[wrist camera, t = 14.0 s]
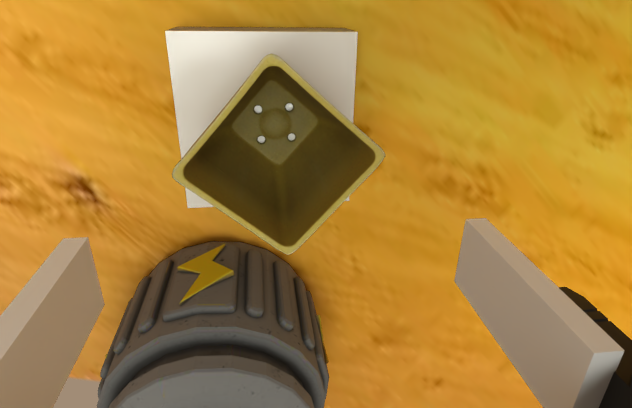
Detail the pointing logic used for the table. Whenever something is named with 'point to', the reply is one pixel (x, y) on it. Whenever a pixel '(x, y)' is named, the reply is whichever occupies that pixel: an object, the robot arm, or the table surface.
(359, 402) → the table surface
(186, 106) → the plinth
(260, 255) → the decorative lamp
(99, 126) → the table surface
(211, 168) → the flower pot
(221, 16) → the table surface
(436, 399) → the table surface
